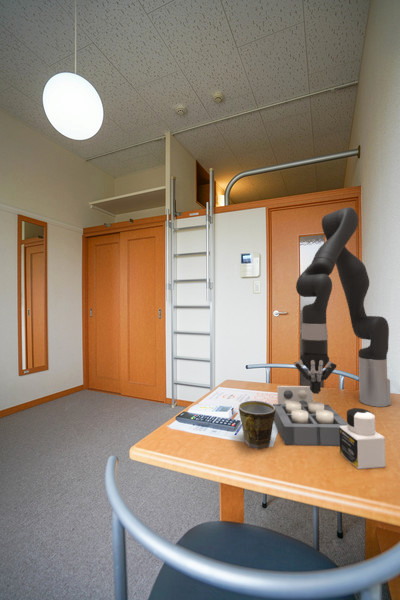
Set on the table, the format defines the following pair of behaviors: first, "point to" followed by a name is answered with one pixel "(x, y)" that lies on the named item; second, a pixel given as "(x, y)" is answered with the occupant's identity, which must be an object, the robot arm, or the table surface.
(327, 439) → the board
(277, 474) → the table surface
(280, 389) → the card
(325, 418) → the button
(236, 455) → the table surface
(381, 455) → the medicine bottle
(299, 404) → the button
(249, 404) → the ceramic cup
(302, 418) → the button
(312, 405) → the button
